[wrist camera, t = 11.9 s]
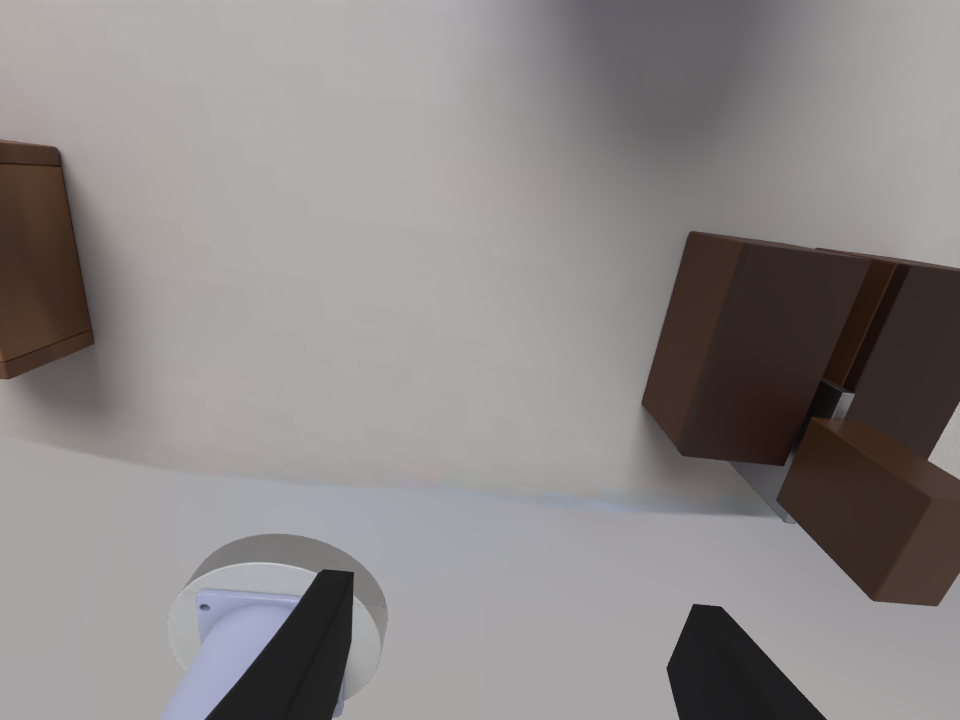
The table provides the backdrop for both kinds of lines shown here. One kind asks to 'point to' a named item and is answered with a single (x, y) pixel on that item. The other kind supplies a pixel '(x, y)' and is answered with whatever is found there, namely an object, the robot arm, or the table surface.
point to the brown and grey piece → (866, 503)
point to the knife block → (37, 263)
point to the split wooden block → (802, 347)
